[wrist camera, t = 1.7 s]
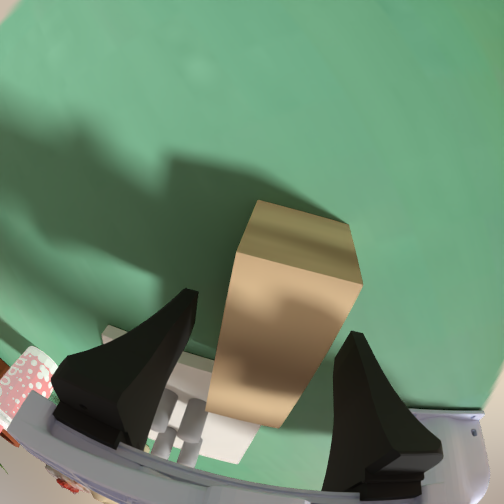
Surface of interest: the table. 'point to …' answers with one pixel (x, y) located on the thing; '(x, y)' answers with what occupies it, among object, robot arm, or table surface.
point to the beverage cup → (25, 382)
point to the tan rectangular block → (281, 312)
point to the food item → (66, 481)
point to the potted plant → (0, 371)
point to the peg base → (198, 386)
